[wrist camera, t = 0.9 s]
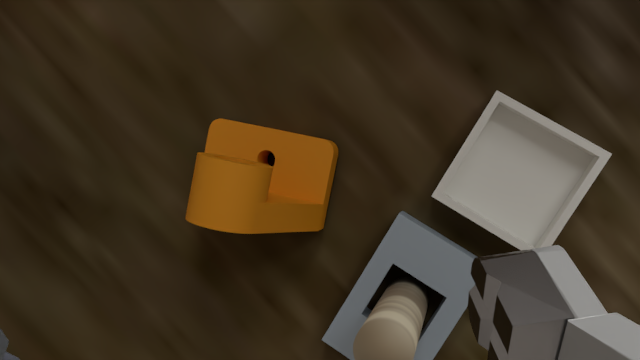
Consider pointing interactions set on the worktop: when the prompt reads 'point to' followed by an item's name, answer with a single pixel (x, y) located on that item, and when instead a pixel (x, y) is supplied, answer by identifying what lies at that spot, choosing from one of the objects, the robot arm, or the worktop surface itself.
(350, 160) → the worktop surface
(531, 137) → the tray
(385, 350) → the dowel
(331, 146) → the bracket
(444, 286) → the block
